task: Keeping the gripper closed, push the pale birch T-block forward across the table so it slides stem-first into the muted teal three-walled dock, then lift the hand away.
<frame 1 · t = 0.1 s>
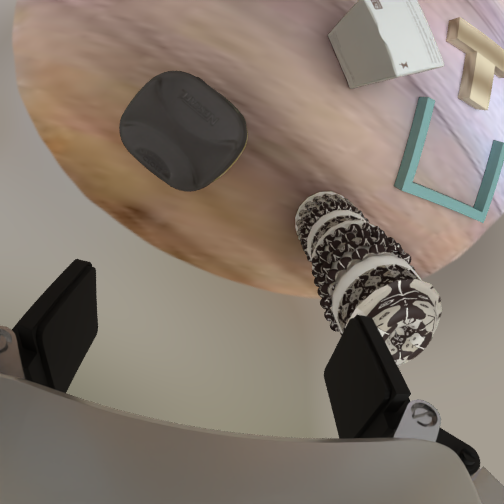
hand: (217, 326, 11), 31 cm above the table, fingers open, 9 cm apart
skincare box: (355, 55, 33), on the table
coffee jar: (206, 123, 37), on the table
decorative candle: (324, 220, 42), on the table
dock: (453, 157, 38), on the table
tee block: (476, 49, 31), on the table
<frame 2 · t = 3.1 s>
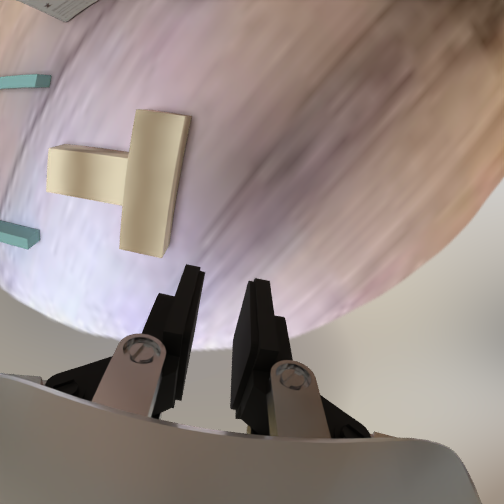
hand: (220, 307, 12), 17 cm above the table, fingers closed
dock: (1, 156, 25), on the table
tee block: (157, 179, 27), on the table
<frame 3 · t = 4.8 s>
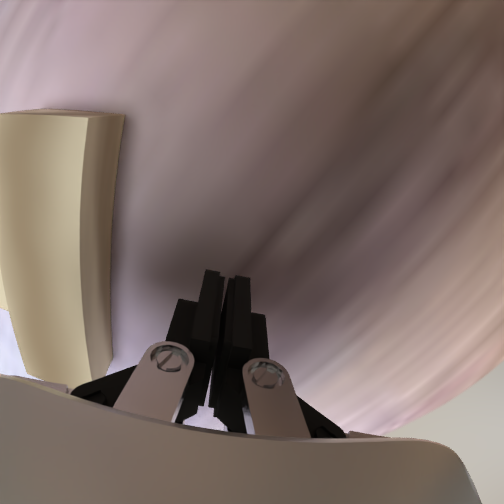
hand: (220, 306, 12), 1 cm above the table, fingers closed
tee block: (71, 249, 12), on the table
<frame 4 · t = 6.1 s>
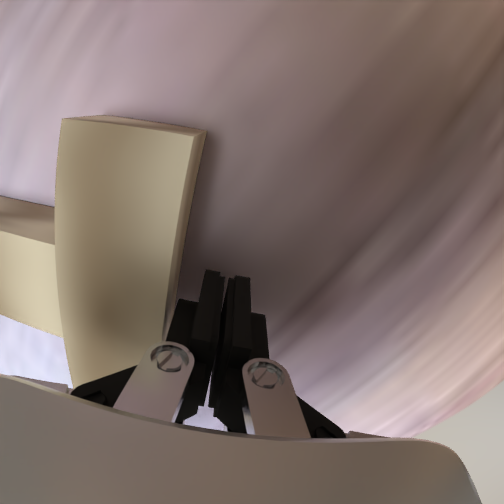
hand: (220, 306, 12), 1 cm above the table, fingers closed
tee block: (132, 269, 12), on the table, touching gripper
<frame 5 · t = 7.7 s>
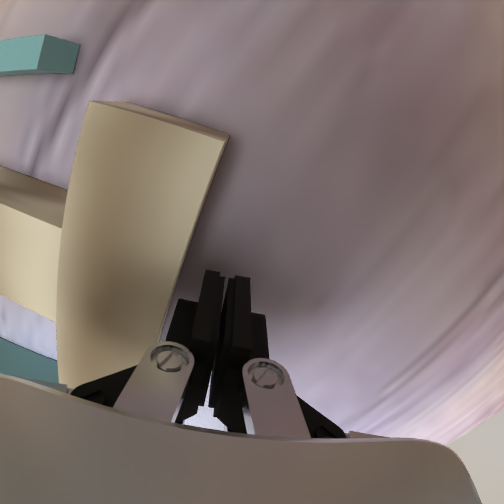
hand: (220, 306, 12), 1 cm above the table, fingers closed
tee block: (133, 261, 12), on the table, touching gripper
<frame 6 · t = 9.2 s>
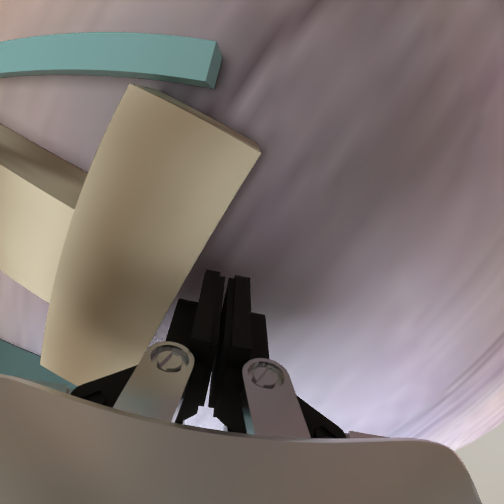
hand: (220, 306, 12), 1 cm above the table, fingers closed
dock: (51, 249, 12), on the table
tee block: (135, 252, 12), on the table, touching dock, gripper
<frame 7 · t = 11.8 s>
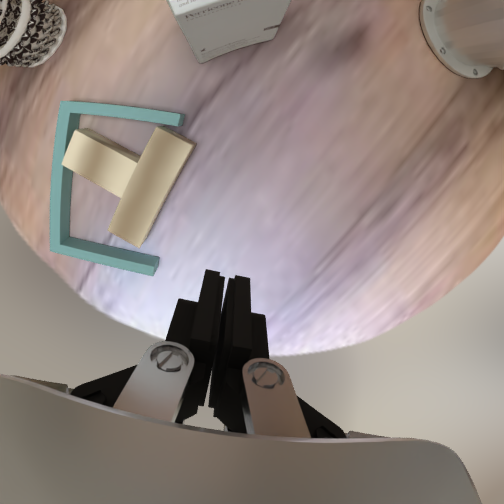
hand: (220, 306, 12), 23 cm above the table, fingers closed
skincare box: (228, 27, 26), on the table
decorative candle: (39, 35, 24), on the table
dock: (117, 184, 32), on the table
tee block: (153, 183, 32), on the table
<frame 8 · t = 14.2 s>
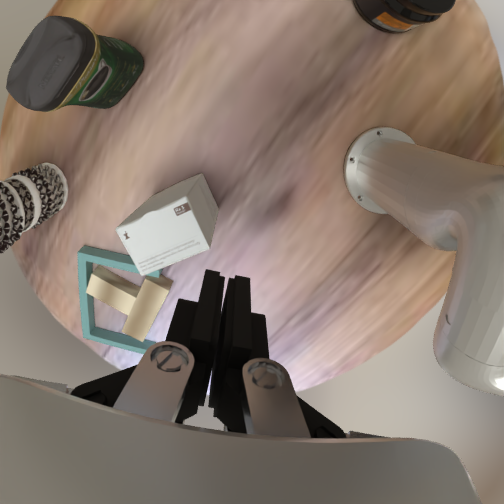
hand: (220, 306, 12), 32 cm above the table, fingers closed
skincare box: (186, 199, 43), on the table
coffee jar: (112, 74, 35), on the table
supplement container: (383, 3, 31), on the table
decorative candle: (48, 188, 41), on the table
dock: (124, 301, 49), on the table
tee block: (148, 302, 50), on the table
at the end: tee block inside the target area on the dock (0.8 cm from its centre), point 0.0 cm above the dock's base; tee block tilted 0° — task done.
